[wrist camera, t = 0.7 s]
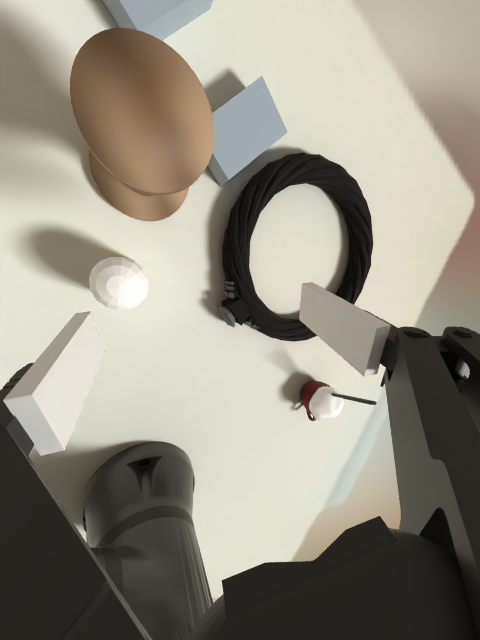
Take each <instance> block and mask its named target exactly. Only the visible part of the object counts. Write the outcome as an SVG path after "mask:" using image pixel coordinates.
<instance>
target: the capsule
mask: <svg viewBox="0 0 480 640" xmlns="http://www.w3.org/2000/svg"><path fill="white" fill-rule="evenodd" d="M89 284H90V290H91V292H92V293H93V295H94V296H95V298H96V299H97V301H99V302H100V303H102V304H103V305H105V306H106V307H109V308H112V309H116V310H123V309H130V308H132V307H134V306H137V305H139V304H140V303H141V301H142V300H143V299H144V298H145V297H146V294H147V291H148V288H149V287H148V278H147V276H146V274H145V272H144V270H143V268H142V267H141V266H140V265H138V264H137V263H136V262H135V261H134V260H131V259H129V258H126V257H109V258H106V259H104V260H101V261H99V262H98V263H97V264H96V265H95V266H94V267H93V269H92V271H91V274H90V277H89Z"/></svg>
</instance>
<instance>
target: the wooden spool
mask: <svg viewBox="0 0 480 640" xmlns="http://www.w3.org/2000/svg"><path fill="white" fill-rule="evenodd" d="M70 94H71V102H72V106H73V111H74V114H75V117H76V120H77V123H78V126H79V128H80V131H81V133H82V135H83V137H84V139H85V141H86V143H87V145H88V147H89V148H90V154H89V158H90V166H91V170H92V174H93V176H94V179H95V181H96V183H97V185H98V187H99V189H100V191H101V192H102V194H103V195H104V196H105V198H106V199H107V200H108V201H109V202H110V203H111V204H112V205H113V206H114V207H115V208H116V209H118V210H119V211H121V212H122V213H124V214H126V215H128V216H130V217H132V218H135V219H138V220H143V221H157V220H161V219H165V218H167V217H169V216H170V215H172V214H173V213H174V212H176V211H177V210H178V209H179V207H180V206H181V205H182V204H183V202H184V200H185V198H186V195H187V192H188V188H189V186H191V185H192V184H193V183H194V182H195V181H196V180H197V179H198V178H199V177H200V176H201V174H202V173H203V172H204V170H205V169H206V167H207V165H208V163H209V161H210V158H211V155H212V151H213V147H214V134H215V130H214V120H213V115H212V110H211V107H210V103H209V100H208V98H207V95H206V93H205V91H204V89H203V87H202V85H201V83H200V81H199V79H198V78H197V76H196V74H195V73H194V71H193V70H192V69H191V68H190V66H189V65H188V64H187V62H186V61H185V60H184V59H183V58H182V57H181V56H180V55H179V54H178V53H177V52H176V51H175V50H174V49H172V48H171V47H170V46H168V45H167V44H166V43H164V42H163V41H161V40H160V39H158V38H156V37H154V36H153V35H150V34H148V33H145V32H143V31H139V30H135V29H130V28H112V29H108V30H104V31H102V32H100V33H98V34H95V35H94V36H93V37H91V38H90V39H89V40H87V41H86V43H85V44H84V45H83V46H82V47H81V49H80V50H79V52H78V54H77V56H76V58H75V60H74V63H73V66H72V71H71V77H70Z"/></svg>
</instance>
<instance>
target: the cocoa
mask: <svg viewBox="0 0 480 640" xmlns="http://www.w3.org/2000/svg"><path fill="white" fill-rule="evenodd" d="M343 399H348V400H352V401H357V402H361V403H366V404H370V405H376V404H377V403H376V402H375V401H370V400H366V399H361V398H356V397H351V396H346V395H342V394H340V393H339V392H338V391H337V390H336V389H334V388H332V387H330V386H329V385H327V384H325V383H323V382H319V381H313V382H310V383H308V384H307V385H306V386H305V387H304V388H303V390H302V393H301V400H302V403H303V405H304V407H305V408H306V410H307V415H308V418H309V419H310V420H311V421H315V420H316V419H318V420H321V419H329V418H332V417H335V416H337V415H338V414H339V413H340V411H341V409H342V407H343V404H344V400H343ZM310 413H311V414H312V415H313V419H312V417H311V415H310Z"/></svg>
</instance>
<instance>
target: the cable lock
mask: <svg viewBox="0 0 480 640" xmlns="http://www.w3.org/2000/svg"><path fill="white" fill-rule="evenodd" d="M303 183H307V184H311V185H314V186H318V187H321V188H322V189H324V190H325V191H326V192H328V193H329V194H330V195H332V196H333V197H334V199H335V200H336V202H337V203H338V205H339V206H340V208H341V209H342V211H343V212H344V215H345V219H346V222H347V226H348V229H349V233H350V260H349V264H348V267H347V271H346V274H345V278H344V281H343V284H342V285H341V287H340V288H339V290H338V291H337V293H336V294H335V295H336V296H338V297H340V298H342V299H344V300H346V301H347V302H349V303H351V304H353V305H354V304H355V302H356V300H357V298H358V296H359V295H360V293H361V291H362V289H363V285H364V283H365V280H366V278H367V275H368V272H369V269H370V266H371V254H372V249H373V236H372V224H371V215H370V211H369V208H368V205H367V202H366V200H365V198H364V196H363V194H362V191H361V189H360V187H359V185H358V183H357V181H356V180H355V179H354V178H353V177H352V176H350V175H349V174H348V173H347V171H346V170H345V169H344V168H343V167H342V166H340V165H339V164H336V163H334V162H331V161H329V160H328V159H326V158H324V157H323V156H321V155H316V154H305V153H298V154H289V155H287V156H285V157H283V158H282V159H279V160H276V161H273V162H270V163H268V164H267V165H266V166H265V167H264V168H262V169H261V170H260V171H259V172H258V173H257V174H256V175H254V176H253V177H252V178H251V180H250V181H249V182H248V184H247V185H246V186H245V187H244V189H243V190H242V191H241V193H240V196H239V197H238V199H237V201H236V202H235V204H234V206H233V208H232V209H231V213H230V217H229V221H228V226H227V229H226V231H225V236H224V243H223V269H224V272H225V278H226V280H225V281H224V283H225V285H224V288H226V289H227V290H225V294H226V297H227V299H225V300H223V301H221V302H222V304H223V306H218V310H219V313H220V316H221V317H222V318H223V319H224V321H225V322H226V323H227V324H228V325H230V326H232V327H234V326H235V322H237V323H238V324H240V325H242V324H243V323H244V324H246V325H249V326H251V328H255V329H257V330H258V331H259V332H261V333H263V334H265V335H267V336H269V337H271V338H276V339H279V340H285V341H302V340H308V339H310V338H313V337H315V336H317V335H316V334H315V333H314V332H313V331H312V330H311V329H309V328H308V327H307V326H306V325H305V324H304V323H303V322H301V321H300V320H293V319H284V318H280V317H279V316H278V315H276V314H275V313H273V312H272V311H271V310H269V309H268V308H267V307H266V305H265V304H264V303H263V302H262V301H261V300H260V298H259V297H258V296H257V294H256V292H255V288H254V285H253V281H252V277H251V274H250V270H249V256H250V240H251V236H252V233H253V230H254V228H255V225H256V222H257V220H258V217H259V214H260V212H261V211H262V210H263V209H264V207H265V206H266V205H267V204H268V202H269V201H270V200H271V199H272V197H273V196H274V195H275V194H277V193H278V192H280V191H281V190H283V189H284V188H286V187H288V186H290V185H297V184H303Z"/></svg>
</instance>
